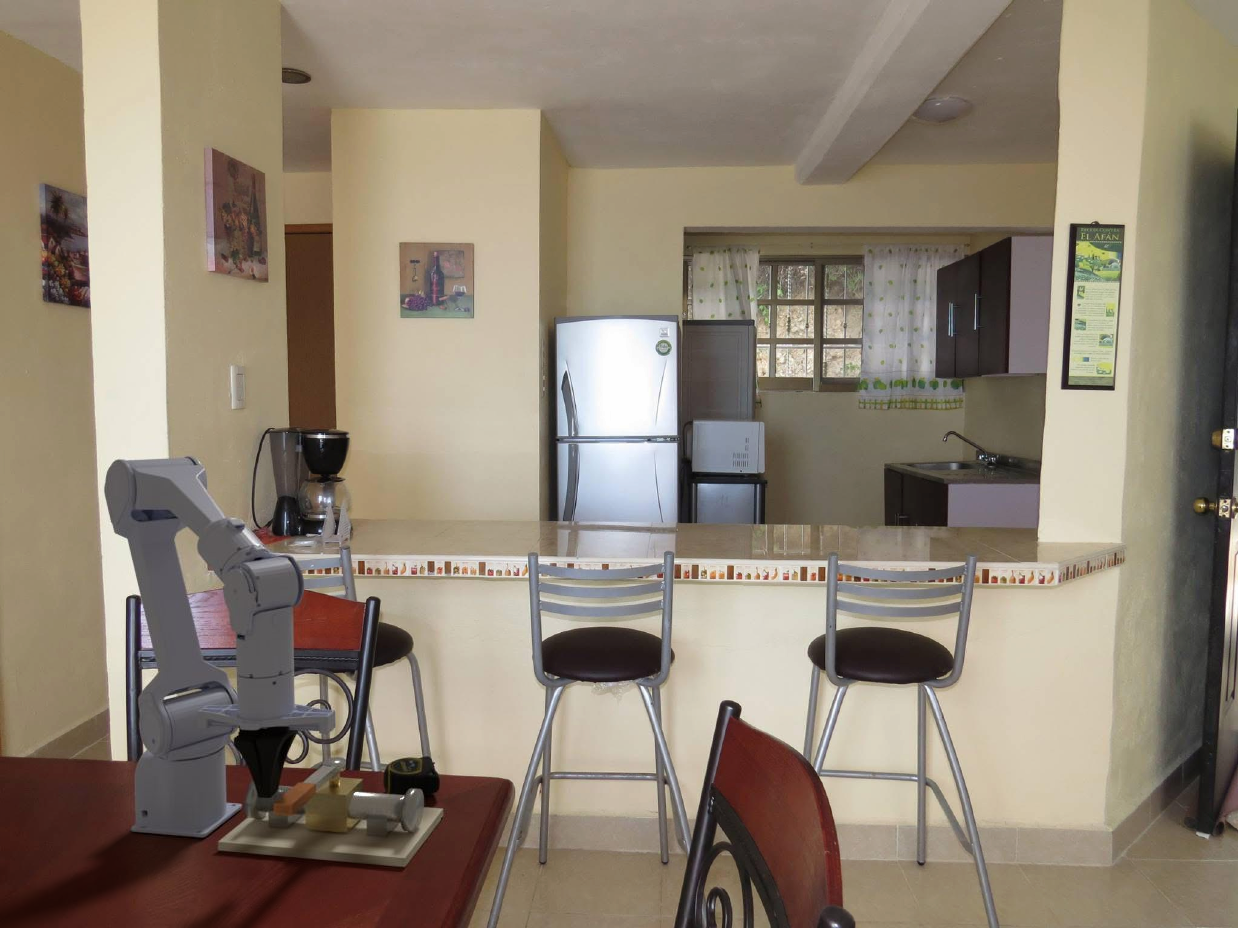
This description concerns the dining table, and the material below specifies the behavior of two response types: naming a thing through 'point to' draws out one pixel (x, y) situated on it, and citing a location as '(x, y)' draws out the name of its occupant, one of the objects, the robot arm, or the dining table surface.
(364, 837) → the board
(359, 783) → the ball valve
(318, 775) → the valve lever
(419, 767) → the tape measure
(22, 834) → the dining table surface
